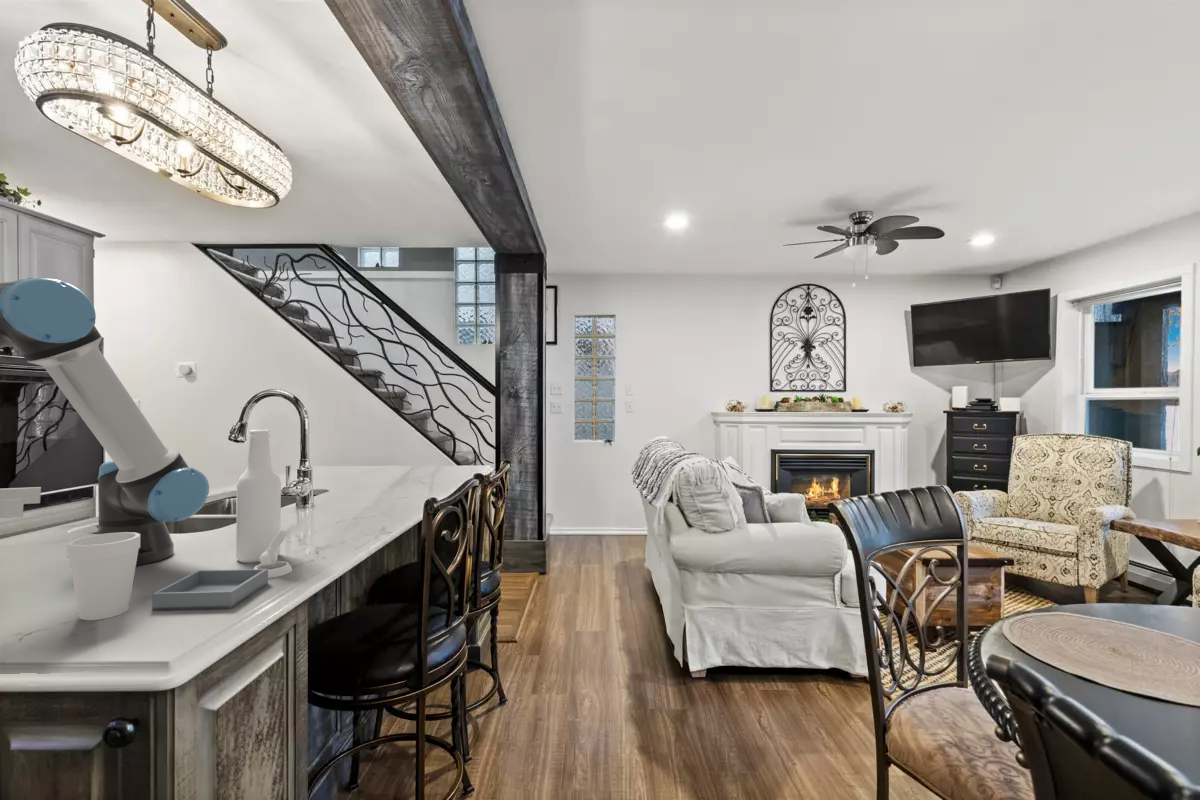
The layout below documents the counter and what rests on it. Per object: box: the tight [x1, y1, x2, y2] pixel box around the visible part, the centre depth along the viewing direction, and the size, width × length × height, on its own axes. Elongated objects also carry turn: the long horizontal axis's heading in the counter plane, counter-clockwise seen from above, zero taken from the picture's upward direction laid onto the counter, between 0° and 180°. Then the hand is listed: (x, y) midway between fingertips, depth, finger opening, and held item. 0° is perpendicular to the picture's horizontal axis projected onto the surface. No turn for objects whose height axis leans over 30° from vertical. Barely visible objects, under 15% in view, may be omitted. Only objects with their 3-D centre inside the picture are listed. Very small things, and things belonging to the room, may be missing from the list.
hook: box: [253, 526, 293, 579], centre depth 119 cm, size 8×12×7 cm
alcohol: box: [235, 429, 282, 564], centre depth 129 cm, size 9×9×30 cm
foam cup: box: [66, 532, 140, 621], centre depth 96 cm, size 10×9×13 cm
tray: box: [151, 568, 269, 612], centre depth 105 cm, size 13×13×3 cm
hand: (32, 501), depth 91 cm, fingers open, 13 cm apart
